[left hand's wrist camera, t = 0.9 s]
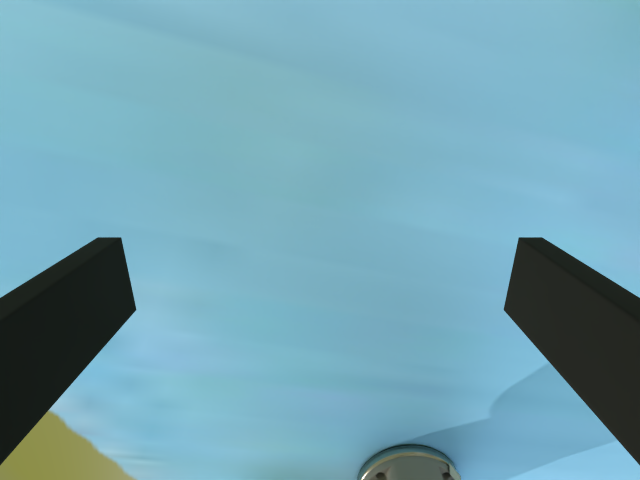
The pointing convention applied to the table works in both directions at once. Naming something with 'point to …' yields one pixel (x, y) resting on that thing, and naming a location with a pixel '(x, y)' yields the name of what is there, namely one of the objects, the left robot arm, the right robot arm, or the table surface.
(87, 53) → the table surface
